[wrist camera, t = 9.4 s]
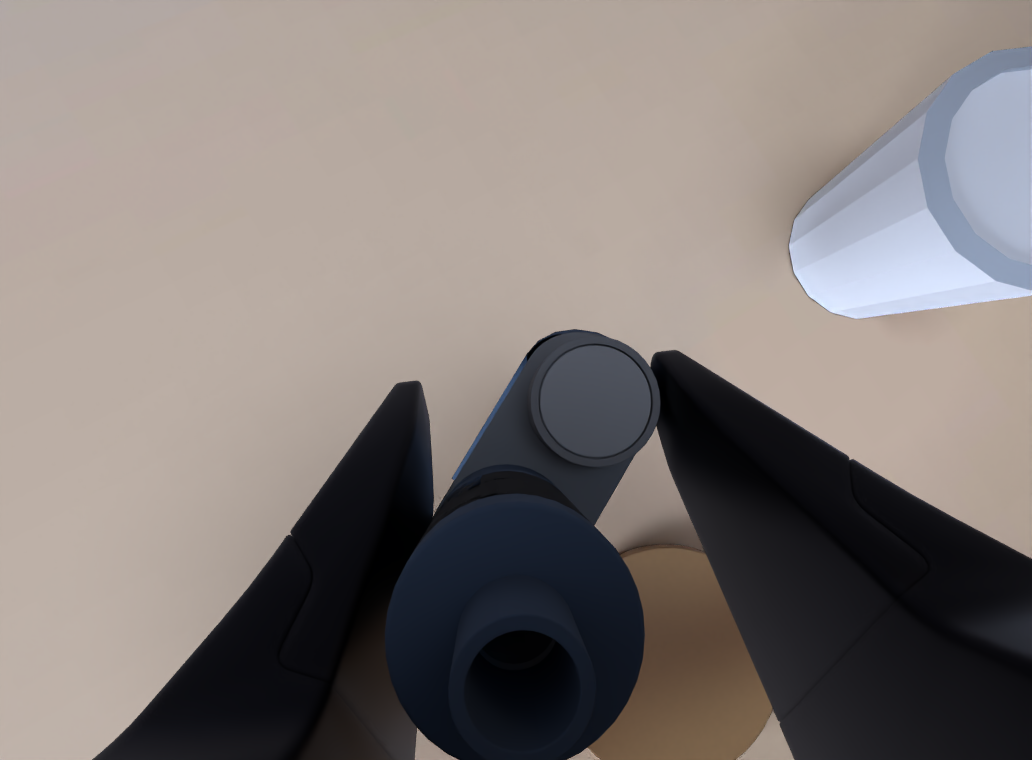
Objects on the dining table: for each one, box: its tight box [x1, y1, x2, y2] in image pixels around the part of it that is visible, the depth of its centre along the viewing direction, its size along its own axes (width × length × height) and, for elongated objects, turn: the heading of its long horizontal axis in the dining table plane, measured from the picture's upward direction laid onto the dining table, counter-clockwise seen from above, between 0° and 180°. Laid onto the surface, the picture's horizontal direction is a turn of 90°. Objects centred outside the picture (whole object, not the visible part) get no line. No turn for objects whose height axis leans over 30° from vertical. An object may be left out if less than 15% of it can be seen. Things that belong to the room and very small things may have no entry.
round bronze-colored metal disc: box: [588, 544, 773, 760], centre depth 19 cm, size 8×8×1 cm
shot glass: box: [789, 47, 1032, 319], centre depth 17 cm, size 7×7×7 cm
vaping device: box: [385, 329, 660, 760], centre depth 10 cm, size 3×5×12 cm, turn 148°
